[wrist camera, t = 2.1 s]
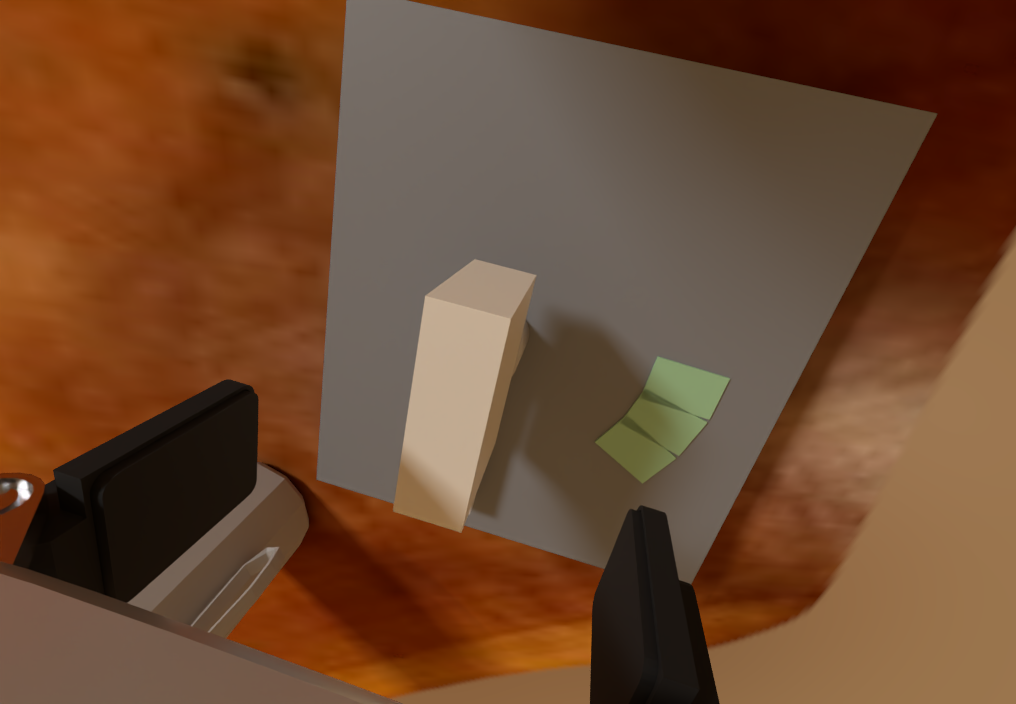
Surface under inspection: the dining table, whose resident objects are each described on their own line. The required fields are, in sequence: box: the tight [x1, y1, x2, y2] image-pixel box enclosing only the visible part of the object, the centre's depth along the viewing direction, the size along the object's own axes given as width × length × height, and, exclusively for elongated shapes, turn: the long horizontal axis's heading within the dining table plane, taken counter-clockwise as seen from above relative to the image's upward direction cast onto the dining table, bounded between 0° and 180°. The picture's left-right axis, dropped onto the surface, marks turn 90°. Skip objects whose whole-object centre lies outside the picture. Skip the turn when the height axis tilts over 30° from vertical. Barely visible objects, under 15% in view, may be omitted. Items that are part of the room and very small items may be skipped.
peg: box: [393, 259, 536, 532], centre depth 18 cm, size 12×2×8 cm, turn 168°
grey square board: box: [317, 0, 937, 584], centre depth 21 cm, size 22×20×3 cm
